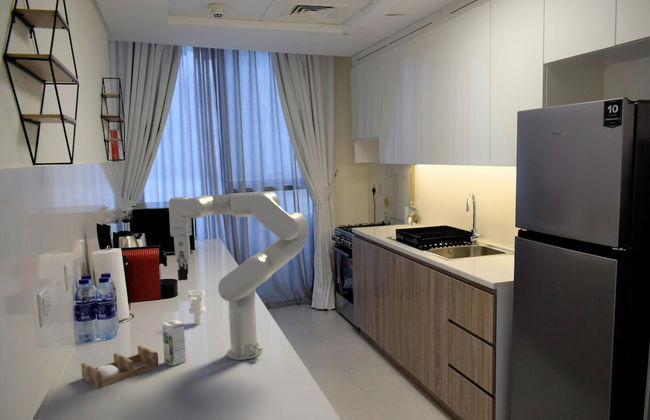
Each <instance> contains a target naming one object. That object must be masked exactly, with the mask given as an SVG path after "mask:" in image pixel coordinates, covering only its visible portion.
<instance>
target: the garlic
mask: <svg viewBox="0 0 650 420" xmlns="http://www.w3.org/2000/svg"><path fill="white" fill-rule="evenodd" d="M104 365H106V366H104ZM97 368H98V369H97V370H98V371H99V372H101V380H102V379H105V378H108V377H111V376H114V375H117V374H120V370H119V369H118V368H117V367H115V366H113V365H107V364H103V365H101V366H98V367H97Z"/></svg>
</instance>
